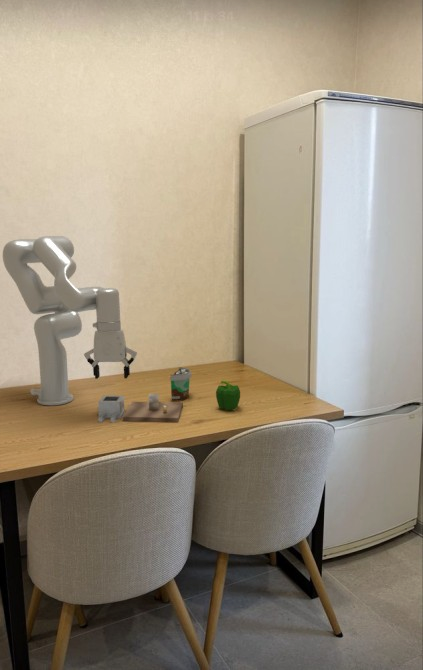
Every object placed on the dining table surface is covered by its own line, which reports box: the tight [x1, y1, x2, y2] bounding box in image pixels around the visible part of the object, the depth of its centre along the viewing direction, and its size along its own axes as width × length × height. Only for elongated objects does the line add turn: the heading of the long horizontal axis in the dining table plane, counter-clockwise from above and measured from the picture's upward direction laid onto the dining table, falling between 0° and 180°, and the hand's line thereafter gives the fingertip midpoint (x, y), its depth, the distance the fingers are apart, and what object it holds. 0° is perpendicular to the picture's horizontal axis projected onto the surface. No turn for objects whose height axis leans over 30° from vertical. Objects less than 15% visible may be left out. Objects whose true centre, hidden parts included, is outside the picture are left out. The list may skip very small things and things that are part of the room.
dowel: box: [163, 405, 167, 414], centre depth 174 cm, size 1×1×2 cm
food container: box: [169, 366, 192, 402], centre depth 195 cm, size 12×6×10 cm, turn 168°
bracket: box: [97, 395, 125, 423], centre depth 175 cm, size 11×7×6 cm, turn 177°
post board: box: [121, 393, 184, 423], centre depth 177 cm, size 18×16×6 cm
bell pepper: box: [215, 379, 241, 411], centre depth 182 cm, size 8×8×10 cm
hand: (111, 377), depth 174 cm, fingers open, 9 cm apart
